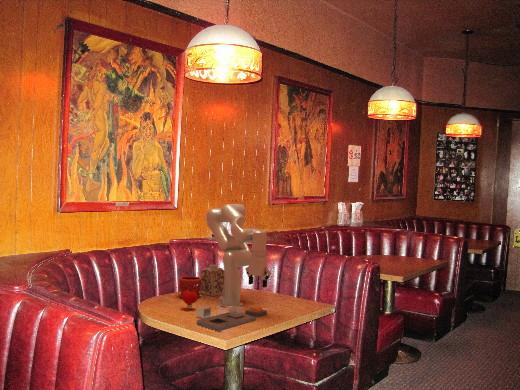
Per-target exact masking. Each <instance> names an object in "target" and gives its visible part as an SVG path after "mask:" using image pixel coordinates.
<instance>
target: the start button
mask: <svg viewBox="0 0 520 390" xmlns="http://www.w3.org/2000/svg"><path fill="white" fill-rule="evenodd" d="M262 310H263V306H260V305H252V306H250V311H253V312H260V311H262Z"/></svg>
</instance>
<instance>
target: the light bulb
mask: <svg viewBox="0 0 520 390" xmlns="http://www.w3.org/2000/svg"><path fill="white" fill-rule="evenodd" d="M181 298H182V299H181V300H182V301H183V302H184V303H185V304H186V308H187V309H188V310H191V309H192V308H193V304H194V303H196V302H197V301H198V298H199V297H198V296H197V293H196V292H194V291H193V292H190V291H184V292H183V294H182V297H181Z"/></svg>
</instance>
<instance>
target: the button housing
mask: <svg viewBox="0 0 520 390" xmlns="http://www.w3.org/2000/svg"><path fill="white" fill-rule="evenodd" d="M267 313H268V311H267V310H265V309H262V311H260V312H253V311H250V309H247V310H245V314H247V315H250V316H254V317H256V318H260V317H263V316H266V315H268V314H267Z"/></svg>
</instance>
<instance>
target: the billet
mask: <svg viewBox="0 0 520 390" xmlns="http://www.w3.org/2000/svg"><path fill="white" fill-rule="evenodd" d="M211 311H212V307H209V306H206V305H201V306H197V307H196V317H197V318H199V319H204V318H208V317H212V314H211Z"/></svg>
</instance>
